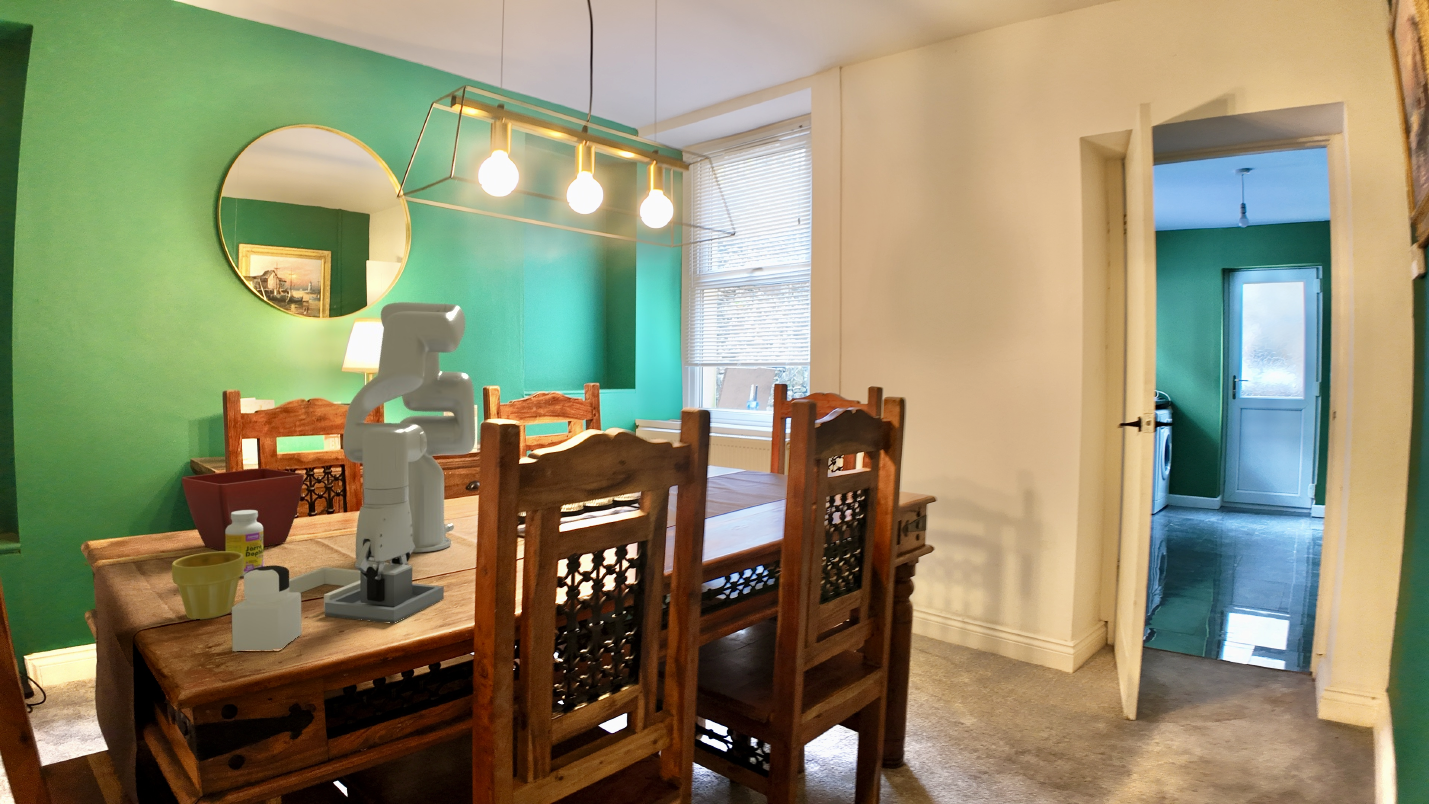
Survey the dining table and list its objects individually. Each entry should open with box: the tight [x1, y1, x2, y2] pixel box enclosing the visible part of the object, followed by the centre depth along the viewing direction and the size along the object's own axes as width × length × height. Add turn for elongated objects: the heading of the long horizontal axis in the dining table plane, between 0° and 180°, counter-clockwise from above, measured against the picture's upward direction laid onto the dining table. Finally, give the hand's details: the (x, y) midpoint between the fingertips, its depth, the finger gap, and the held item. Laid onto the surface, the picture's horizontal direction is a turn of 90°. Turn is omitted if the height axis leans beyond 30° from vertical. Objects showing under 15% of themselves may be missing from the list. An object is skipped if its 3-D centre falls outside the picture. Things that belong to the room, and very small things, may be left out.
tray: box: [324, 582, 445, 624], centre depth 134 cm, size 14×14×2 cm
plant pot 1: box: [181, 467, 305, 551], centre depth 177 cm, size 19×19×17 cm
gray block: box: [360, 562, 413, 606], centre depth 134 cm, size 5×7×6 cm
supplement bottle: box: [225, 510, 264, 578], centre depth 154 cm, size 7×7×13 cm
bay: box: [288, 566, 360, 612], centre depth 140 cm, size 15×14×3 cm
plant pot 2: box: [171, 550, 244, 620], centre depth 129 cm, size 10×10×10 cm
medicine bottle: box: [230, 564, 302, 652], centre depth 116 cm, size 7×7×12 cm
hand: (386, 594), depth 134 cm, fingers closed on gray block, 5 cm apart
